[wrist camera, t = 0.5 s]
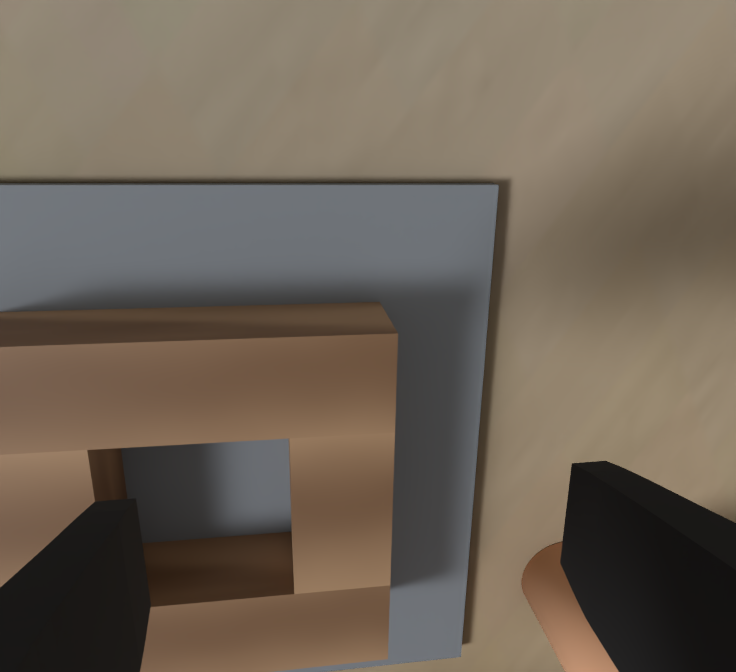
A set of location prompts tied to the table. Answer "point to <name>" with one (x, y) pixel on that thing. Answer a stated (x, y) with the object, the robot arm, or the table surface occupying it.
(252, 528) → the mat
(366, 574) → the square frame
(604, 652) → the dowel
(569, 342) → the table surface
